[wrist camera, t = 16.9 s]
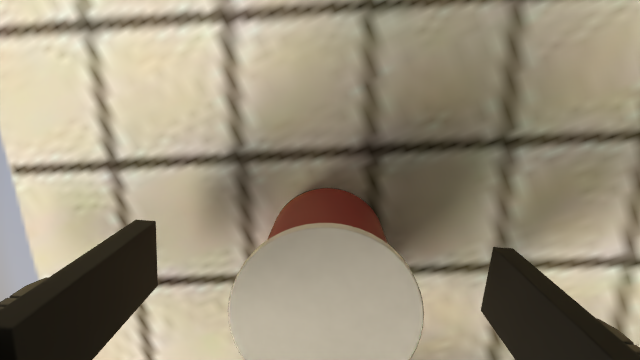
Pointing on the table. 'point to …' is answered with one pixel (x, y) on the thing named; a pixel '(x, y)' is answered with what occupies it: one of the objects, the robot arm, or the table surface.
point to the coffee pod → (326, 287)
